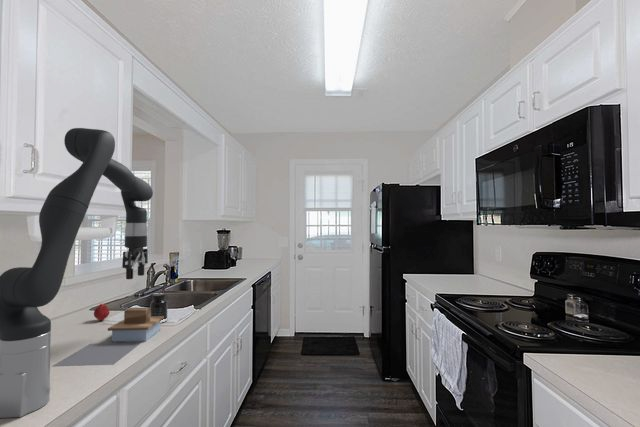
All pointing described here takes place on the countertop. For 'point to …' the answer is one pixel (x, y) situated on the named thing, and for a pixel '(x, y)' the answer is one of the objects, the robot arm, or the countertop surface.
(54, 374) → the countertop surface
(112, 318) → the countertop surface
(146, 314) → the lid
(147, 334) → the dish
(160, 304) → the supplement bottle
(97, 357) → the mat
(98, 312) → the red bumpy ovoid
